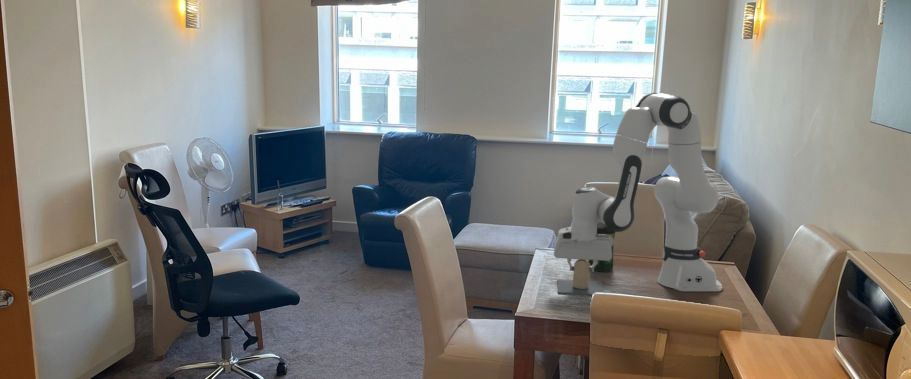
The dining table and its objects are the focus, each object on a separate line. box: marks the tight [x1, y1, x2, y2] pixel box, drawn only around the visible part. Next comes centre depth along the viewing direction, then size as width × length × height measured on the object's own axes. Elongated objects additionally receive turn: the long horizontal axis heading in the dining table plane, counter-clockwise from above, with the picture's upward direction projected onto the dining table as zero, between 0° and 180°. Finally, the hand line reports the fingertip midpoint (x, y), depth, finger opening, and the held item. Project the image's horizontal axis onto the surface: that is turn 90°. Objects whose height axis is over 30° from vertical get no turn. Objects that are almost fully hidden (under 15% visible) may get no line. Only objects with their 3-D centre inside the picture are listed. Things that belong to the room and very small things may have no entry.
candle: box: [572, 259, 591, 289], centre depth 247 cm, size 6×6×10 cm
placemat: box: [556, 279, 605, 297], centre depth 248 cm, size 16×14×1 cm
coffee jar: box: [587, 223, 616, 273], centre depth 270 cm, size 10×8×19 cm
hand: (581, 270), depth 247 cm, fingers closed on candle, 5 cm apart
